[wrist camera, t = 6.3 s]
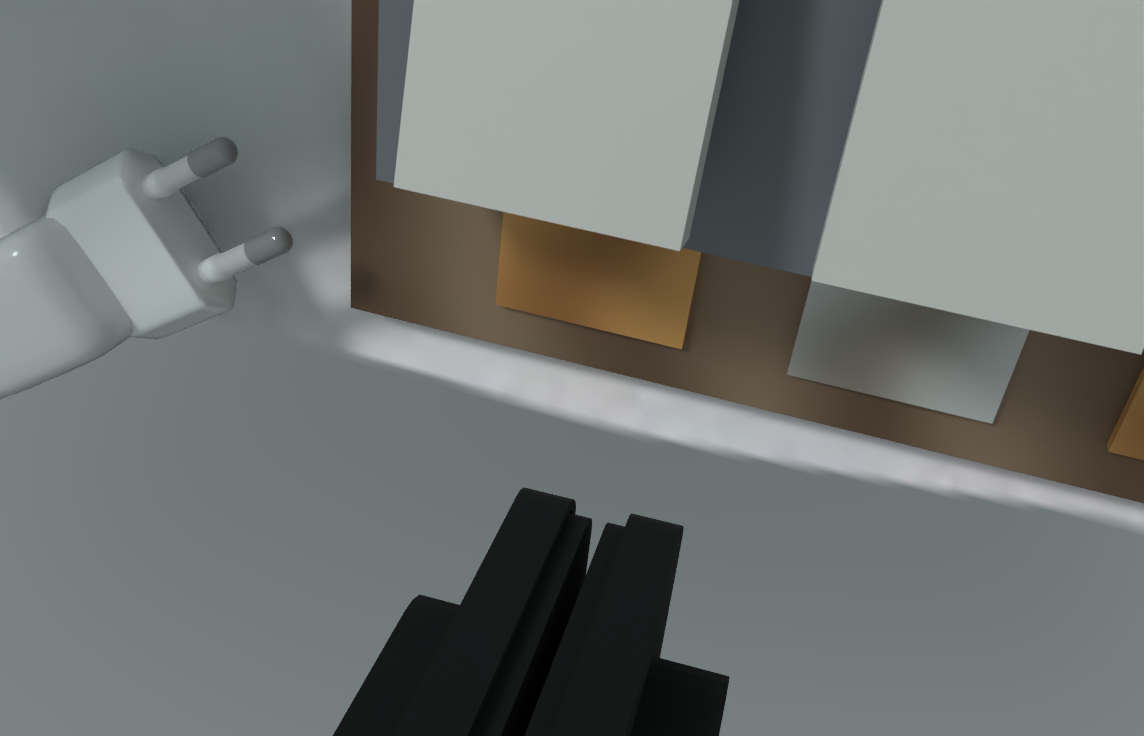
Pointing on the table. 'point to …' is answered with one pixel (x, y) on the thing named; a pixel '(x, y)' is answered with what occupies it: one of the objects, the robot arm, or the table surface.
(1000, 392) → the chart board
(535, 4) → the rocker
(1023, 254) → the rocker
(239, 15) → the table surface
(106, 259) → the power adapter
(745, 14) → the switch housing
